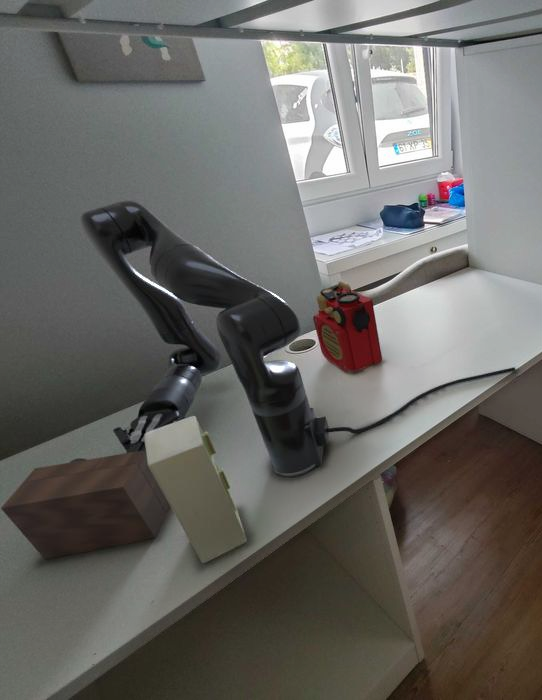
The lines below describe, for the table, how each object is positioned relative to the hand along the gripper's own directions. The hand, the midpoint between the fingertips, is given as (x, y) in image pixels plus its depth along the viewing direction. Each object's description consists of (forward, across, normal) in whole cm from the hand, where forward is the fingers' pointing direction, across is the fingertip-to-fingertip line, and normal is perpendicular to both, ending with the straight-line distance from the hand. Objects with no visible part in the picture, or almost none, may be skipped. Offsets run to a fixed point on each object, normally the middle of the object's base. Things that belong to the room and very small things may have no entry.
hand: (131, 462), depth 75 cm
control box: (+4, -4, +8) cm, 10 cm away
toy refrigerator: (+12, +15, +9) cm, 21 cm away
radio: (-38, +35, +9) cm, 53 cm away
